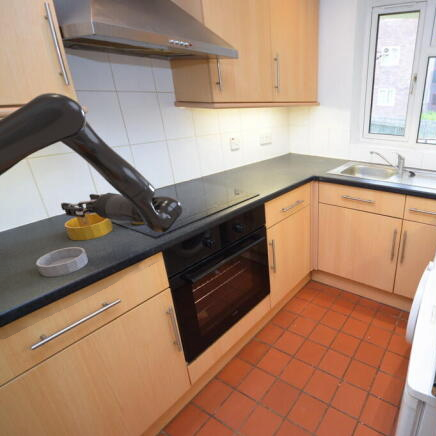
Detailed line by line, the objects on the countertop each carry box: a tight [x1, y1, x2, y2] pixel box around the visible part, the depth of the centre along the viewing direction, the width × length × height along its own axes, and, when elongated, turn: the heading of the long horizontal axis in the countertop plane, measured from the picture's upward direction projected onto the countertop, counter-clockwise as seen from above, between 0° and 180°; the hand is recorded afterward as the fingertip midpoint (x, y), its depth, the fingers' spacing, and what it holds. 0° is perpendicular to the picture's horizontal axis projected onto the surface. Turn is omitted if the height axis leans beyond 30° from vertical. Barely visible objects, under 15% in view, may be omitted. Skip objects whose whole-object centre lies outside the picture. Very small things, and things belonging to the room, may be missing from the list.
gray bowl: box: [35, 246, 89, 278], centre depth 90 cm, size 11×11×4 cm
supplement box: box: [77, 207, 91, 227], centre depth 107 cm, size 3×3×10 cm
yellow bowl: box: [64, 213, 114, 241], centre depth 110 cm, size 13×13×5 cm
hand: (77, 201), depth 92 cm, fingers open, 8 cm apart
